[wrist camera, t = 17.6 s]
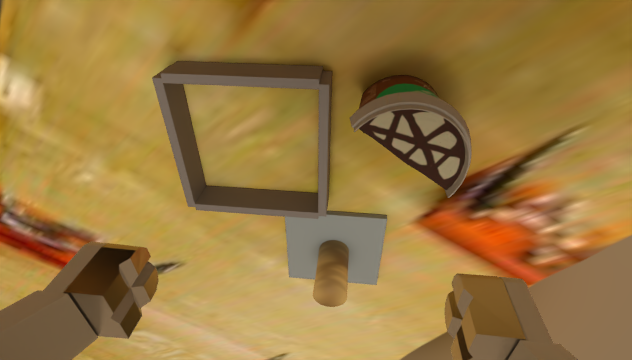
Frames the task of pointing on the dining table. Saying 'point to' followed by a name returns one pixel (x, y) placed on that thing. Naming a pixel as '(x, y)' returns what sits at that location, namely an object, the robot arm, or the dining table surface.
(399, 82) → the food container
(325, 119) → the frame
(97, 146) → the dining table surface
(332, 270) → the peg
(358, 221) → the mat
